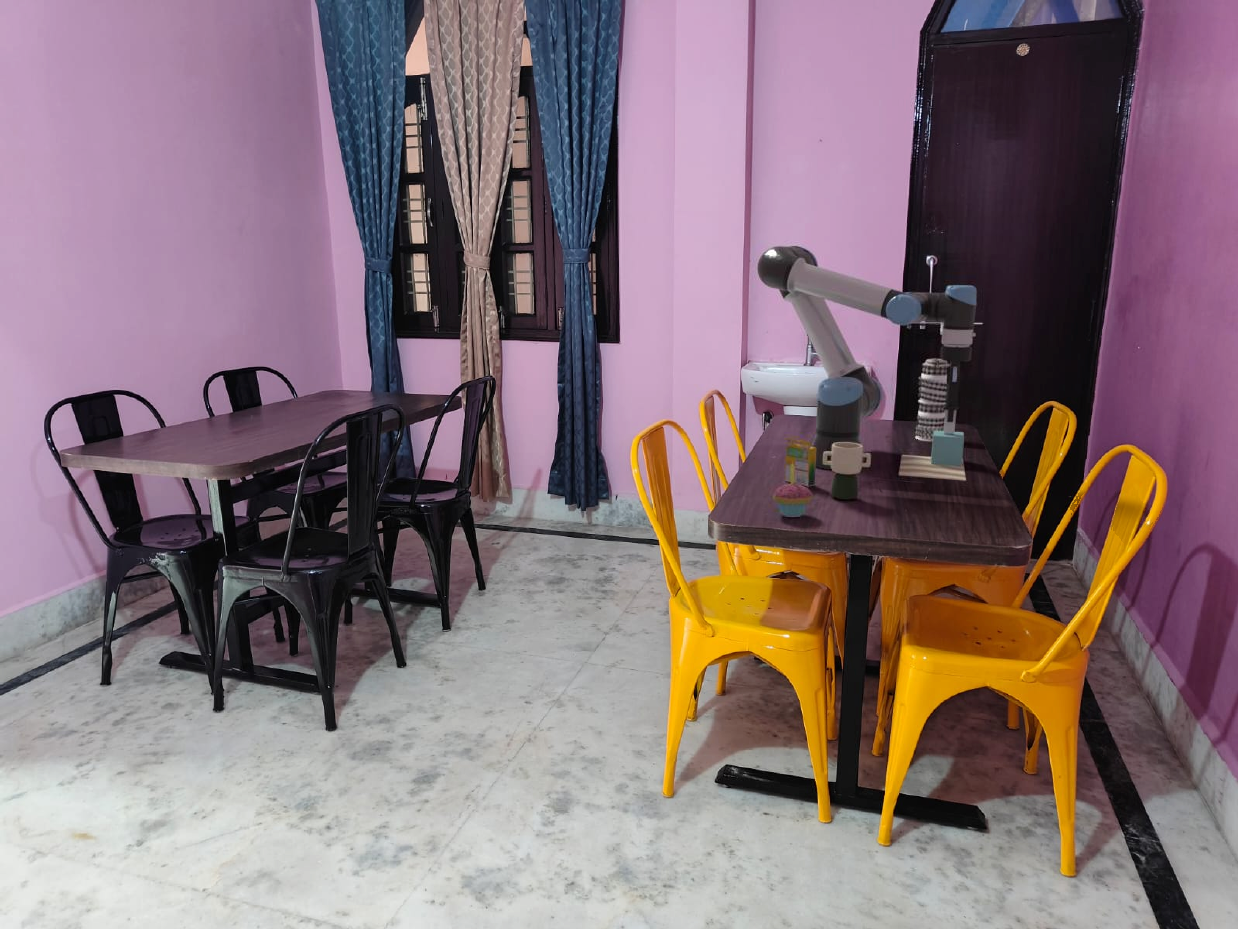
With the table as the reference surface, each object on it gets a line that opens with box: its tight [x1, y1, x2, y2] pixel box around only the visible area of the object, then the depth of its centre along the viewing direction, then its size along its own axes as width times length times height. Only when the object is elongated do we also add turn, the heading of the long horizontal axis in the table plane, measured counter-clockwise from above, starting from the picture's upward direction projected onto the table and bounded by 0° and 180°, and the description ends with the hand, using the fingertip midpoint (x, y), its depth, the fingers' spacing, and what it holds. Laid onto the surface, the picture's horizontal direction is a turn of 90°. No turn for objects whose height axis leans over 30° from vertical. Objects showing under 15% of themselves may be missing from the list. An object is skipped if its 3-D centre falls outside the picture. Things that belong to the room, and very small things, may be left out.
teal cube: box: [930, 430, 965, 466], centre depth 228 cm, size 8×8×8 cm
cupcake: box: [772, 461, 813, 516], centre depth 186 cm, size 9×8×12 cm
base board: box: [898, 454, 967, 481], centre depth 224 cm, size 24×16×2 cm, turn 160°
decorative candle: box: [914, 358, 950, 443], centre depth 263 cm, size 9×9×25 cm
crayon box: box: [784, 437, 817, 487], centre depth 212 cm, size 7×3×12 cm, turn 41°
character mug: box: [823, 442, 872, 500], centre depth 199 cm, size 11×7×13 cm, turn 77°
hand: (948, 433), depth 227 cm, fingers closed
